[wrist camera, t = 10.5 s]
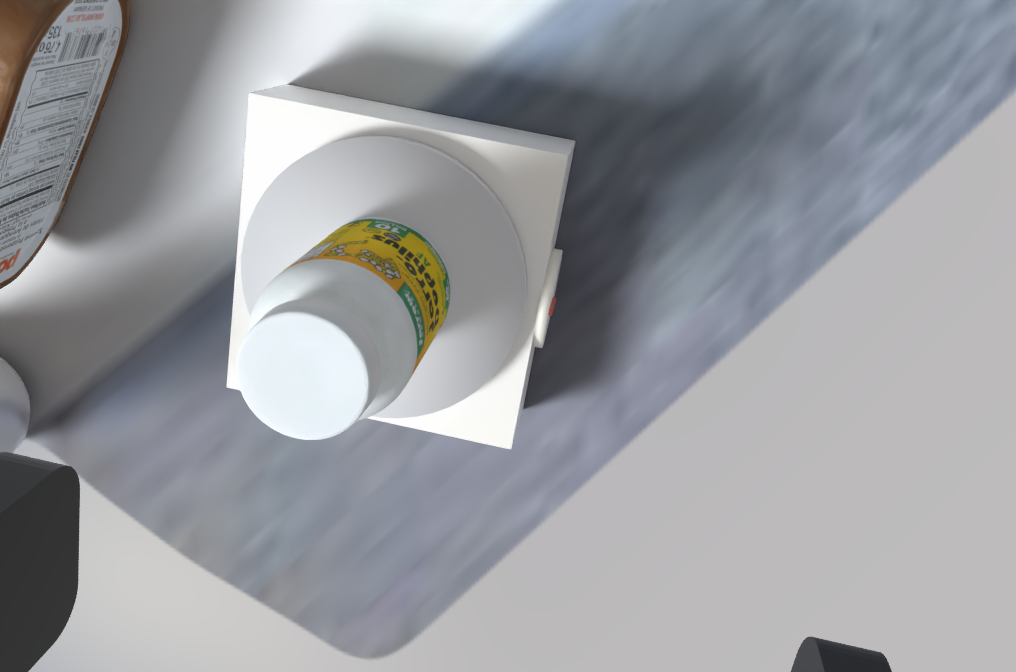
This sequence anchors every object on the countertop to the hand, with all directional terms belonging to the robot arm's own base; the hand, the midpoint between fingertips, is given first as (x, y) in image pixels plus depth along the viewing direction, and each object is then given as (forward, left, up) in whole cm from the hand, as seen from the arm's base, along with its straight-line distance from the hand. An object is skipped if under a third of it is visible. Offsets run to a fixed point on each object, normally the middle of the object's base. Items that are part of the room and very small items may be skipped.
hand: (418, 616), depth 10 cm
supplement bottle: (+5, -6, -26) cm, 27 cm away
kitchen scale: (+5, -6, -30) cm, 31 cm away
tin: (+2, -22, -30) cm, 37 cm away
